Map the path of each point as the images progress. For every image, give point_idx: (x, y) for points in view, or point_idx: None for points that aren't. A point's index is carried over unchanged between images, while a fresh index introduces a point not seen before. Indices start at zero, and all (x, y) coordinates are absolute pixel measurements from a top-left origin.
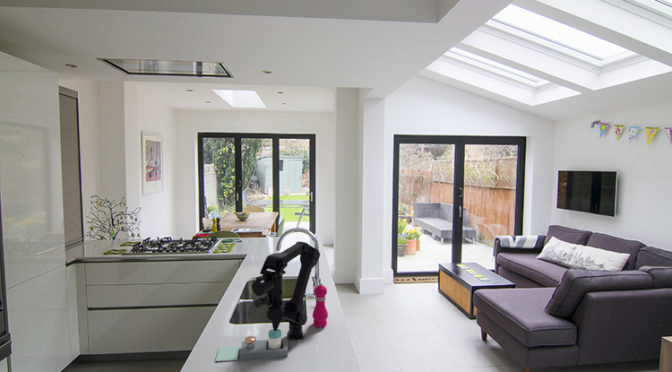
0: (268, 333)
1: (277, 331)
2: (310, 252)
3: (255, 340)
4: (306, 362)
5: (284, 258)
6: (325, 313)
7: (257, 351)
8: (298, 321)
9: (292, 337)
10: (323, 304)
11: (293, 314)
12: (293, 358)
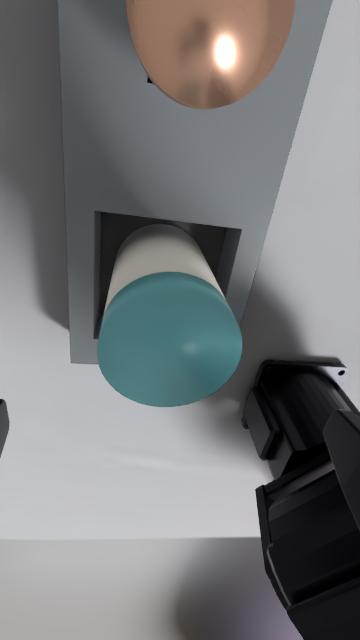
0: (169, 284)
1: (171, 378)
2: None
3: (168, 95)
4: None
5: None
6: None
7: (81, 117)
8: (266, 522)
9: (260, 386)
10: None
11: (308, 579)
12: (50, 362)
